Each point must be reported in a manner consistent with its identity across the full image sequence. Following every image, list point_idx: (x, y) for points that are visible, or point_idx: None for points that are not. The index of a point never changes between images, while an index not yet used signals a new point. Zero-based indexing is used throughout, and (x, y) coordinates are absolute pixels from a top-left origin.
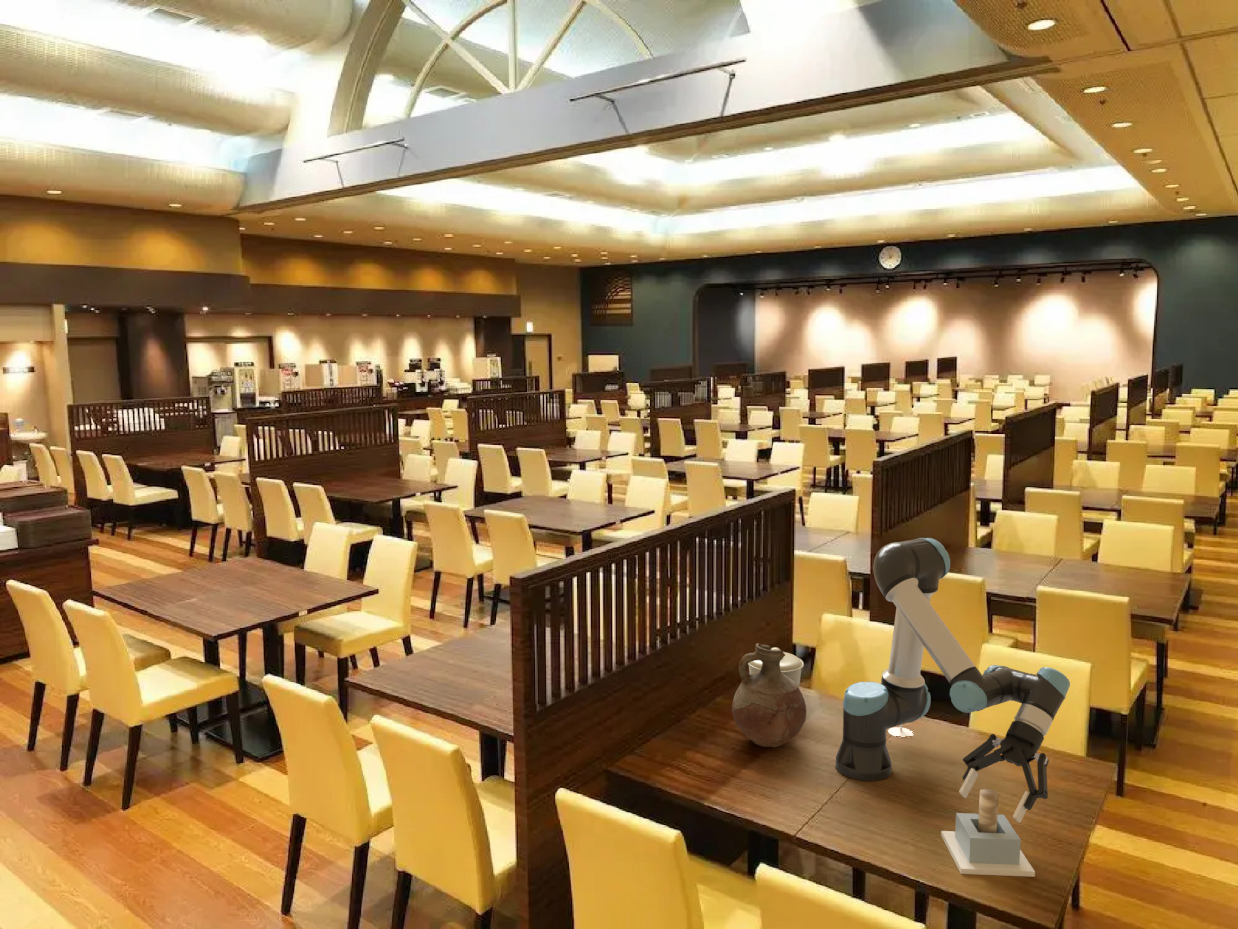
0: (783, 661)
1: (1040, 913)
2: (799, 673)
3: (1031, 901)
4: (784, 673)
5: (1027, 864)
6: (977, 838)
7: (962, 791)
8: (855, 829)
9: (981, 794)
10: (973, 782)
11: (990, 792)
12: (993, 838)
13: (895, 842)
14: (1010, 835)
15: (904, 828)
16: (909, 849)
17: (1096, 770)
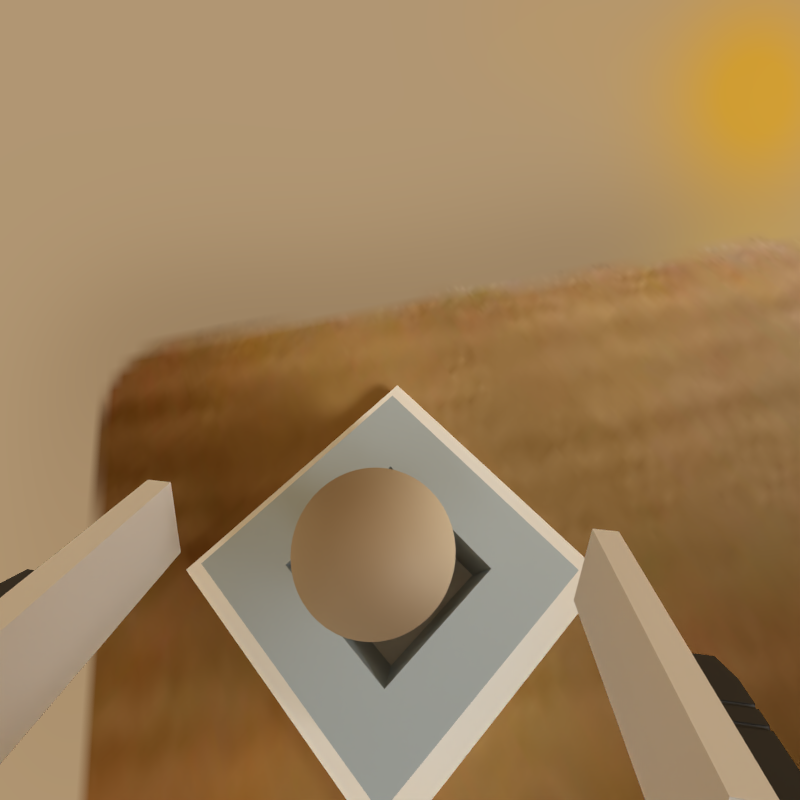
0: None
1: (137, 382)
2: None
3: (172, 418)
4: None
5: (224, 601)
6: (369, 416)
7: (598, 539)
8: (792, 371)
9: (411, 477)
10: (629, 735)
11: (369, 569)
12: (313, 469)
13: (653, 401)
14: (257, 565)
15: (717, 513)
16: (594, 398)
17: None
